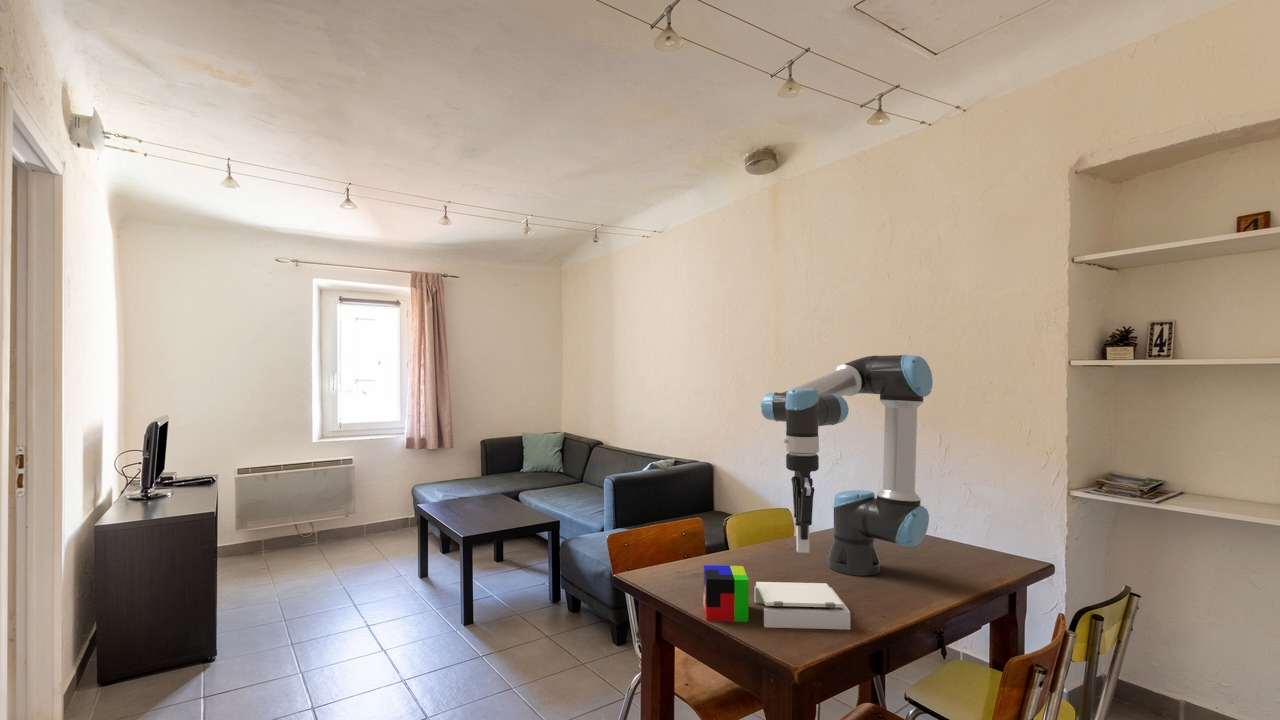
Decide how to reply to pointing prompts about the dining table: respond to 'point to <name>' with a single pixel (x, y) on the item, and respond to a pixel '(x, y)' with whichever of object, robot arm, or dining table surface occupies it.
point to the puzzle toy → (725, 593)
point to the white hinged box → (805, 616)
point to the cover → (798, 594)
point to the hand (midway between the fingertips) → (802, 551)
